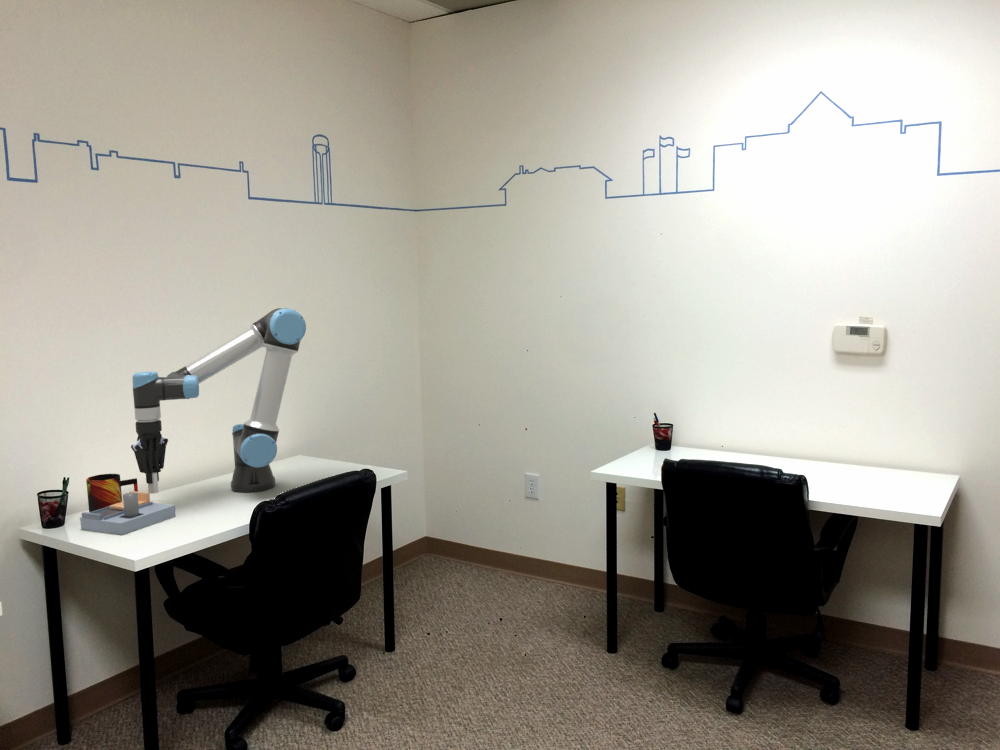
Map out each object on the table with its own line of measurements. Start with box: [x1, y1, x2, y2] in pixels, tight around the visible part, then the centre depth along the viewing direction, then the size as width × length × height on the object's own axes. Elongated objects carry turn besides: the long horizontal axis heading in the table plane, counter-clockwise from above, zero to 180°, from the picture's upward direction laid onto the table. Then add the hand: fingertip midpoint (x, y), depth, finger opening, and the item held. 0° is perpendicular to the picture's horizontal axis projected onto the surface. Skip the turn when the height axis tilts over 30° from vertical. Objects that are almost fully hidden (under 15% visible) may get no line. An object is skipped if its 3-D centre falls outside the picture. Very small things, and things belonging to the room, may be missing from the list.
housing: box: [79, 501, 177, 536], centre depth 242 cm, size 20×17×5 cm
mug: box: [85, 473, 139, 513], centre depth 254 cm, size 10×14×12 cm
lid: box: [109, 490, 151, 510], centre depth 247 cm, size 9×7×3 cm
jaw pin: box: [122, 492, 139, 519], centre depth 238 cm, size 4×4×10 cm
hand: (153, 492), depth 256 cm, fingers closed
